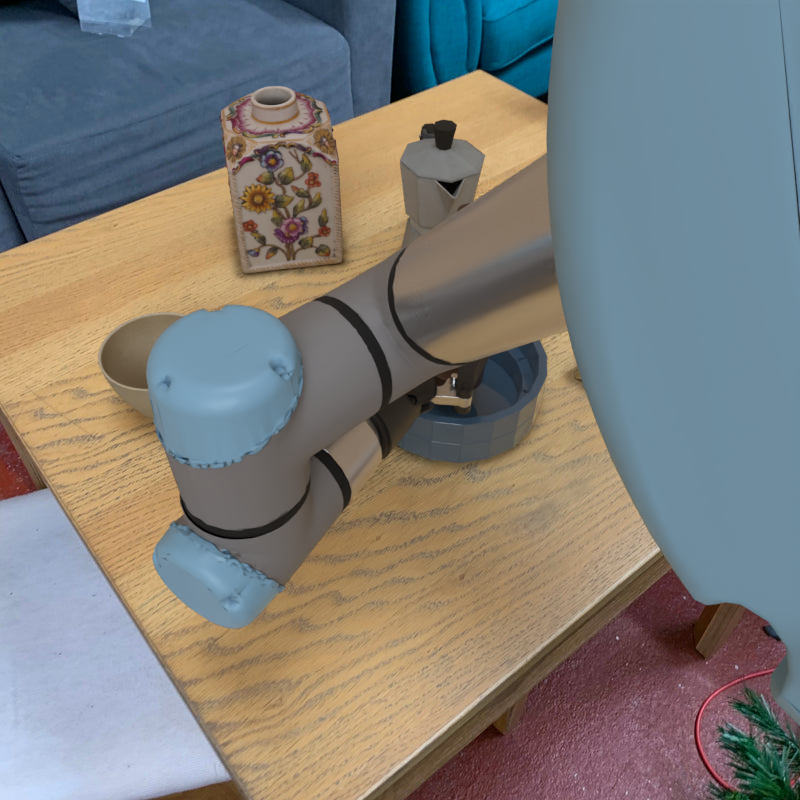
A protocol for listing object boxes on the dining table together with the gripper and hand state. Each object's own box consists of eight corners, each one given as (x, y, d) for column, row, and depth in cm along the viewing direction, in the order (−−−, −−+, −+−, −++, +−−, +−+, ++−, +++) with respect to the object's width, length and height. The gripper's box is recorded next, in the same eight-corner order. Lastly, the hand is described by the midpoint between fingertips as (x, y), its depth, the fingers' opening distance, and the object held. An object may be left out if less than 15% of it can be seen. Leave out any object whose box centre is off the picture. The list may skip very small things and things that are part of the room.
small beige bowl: (116, 450, 69) (94, 396, 64) (120, 373, 76) (100, 318, 70) (227, 434, 71) (216, 380, 65) (222, 360, 77) (211, 305, 72)
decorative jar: (344, 265, 88) (338, 117, 75) (242, 277, 86) (218, 128, 73) (328, 207, 96) (321, 64, 83) (234, 217, 94) (211, 72, 81)
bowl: (571, 427, 72) (584, 383, 68) (419, 494, 67) (422, 451, 62) (477, 322, 82) (483, 278, 77) (337, 373, 76) (334, 329, 72)
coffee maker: (484, 304, 84) (505, 155, 71) (405, 311, 83) (411, 161, 70) (456, 225, 94) (470, 82, 81) (386, 230, 93) (387, 86, 79)
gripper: (261, 418, 59) (416, 261, 73) (432, 506, 54) (564, 319, 68) (249, 348, 53) (420, 192, 67) (439, 439, 48) (581, 250, 62)
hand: (492, 256), depth 67 cm, fingers closed on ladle, 2 cm apart
